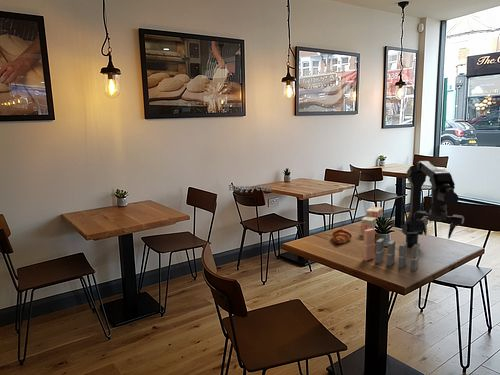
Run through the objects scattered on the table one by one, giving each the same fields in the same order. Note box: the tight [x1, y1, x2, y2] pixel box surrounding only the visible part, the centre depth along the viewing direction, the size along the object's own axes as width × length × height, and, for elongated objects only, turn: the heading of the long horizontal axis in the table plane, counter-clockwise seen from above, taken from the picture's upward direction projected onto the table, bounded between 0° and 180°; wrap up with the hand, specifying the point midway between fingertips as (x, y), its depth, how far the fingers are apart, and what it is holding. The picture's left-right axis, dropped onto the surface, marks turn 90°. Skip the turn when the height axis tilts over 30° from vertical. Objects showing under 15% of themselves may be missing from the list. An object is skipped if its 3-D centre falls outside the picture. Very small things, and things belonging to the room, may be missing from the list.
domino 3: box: [386, 240, 396, 267], centre depth 170 cm, size 5×2×10 cm, turn 143°
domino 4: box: [397, 241, 408, 269], centre depth 167 cm, size 5×2×10 cm, turn 143°
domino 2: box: [374, 237, 385, 264], centre depth 173 cm, size 5×2×10 cm, turn 143°
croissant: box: [331, 227, 353, 244], centre depth 205 cm, size 21×10×8 cm, turn 158°
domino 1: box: [362, 228, 376, 262], centre depth 176 cm, size 5×2×14 cm, turn 123°
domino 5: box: [409, 244, 420, 272], centre depth 164 cm, size 5×2×10 cm, turn 143°
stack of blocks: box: [360, 206, 384, 237], centre depth 218 cm, size 21×6×12 cm, turn 146°
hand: (437, 236), depth 165 cm, fingers open, 9 cm apart
